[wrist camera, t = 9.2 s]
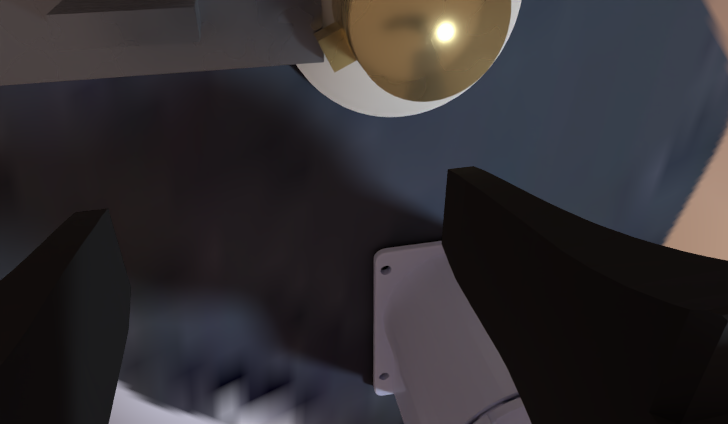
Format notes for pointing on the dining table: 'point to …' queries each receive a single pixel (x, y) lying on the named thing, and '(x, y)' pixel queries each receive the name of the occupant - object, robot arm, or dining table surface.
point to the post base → (152, 37)
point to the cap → (417, 43)
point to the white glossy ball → (370, 81)
